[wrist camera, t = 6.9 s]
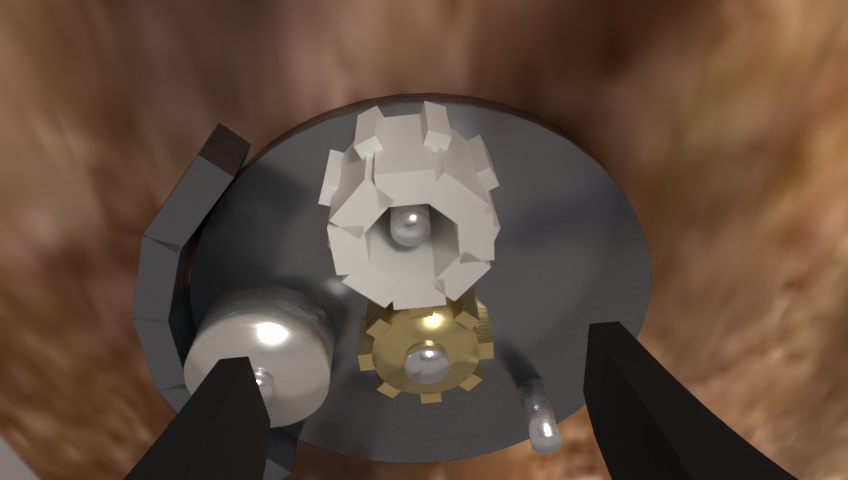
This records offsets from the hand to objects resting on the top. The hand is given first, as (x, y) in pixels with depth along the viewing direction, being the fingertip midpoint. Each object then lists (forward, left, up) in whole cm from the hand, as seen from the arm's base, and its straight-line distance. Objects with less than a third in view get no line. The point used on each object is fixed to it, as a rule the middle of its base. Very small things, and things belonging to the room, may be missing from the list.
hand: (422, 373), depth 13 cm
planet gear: (0, 0, -9) cm, 9 cm away
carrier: (-4, +5, -10) cm, 12 cm away
